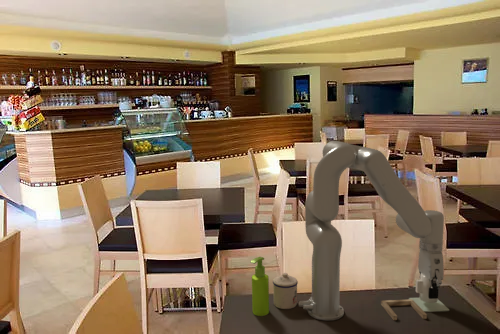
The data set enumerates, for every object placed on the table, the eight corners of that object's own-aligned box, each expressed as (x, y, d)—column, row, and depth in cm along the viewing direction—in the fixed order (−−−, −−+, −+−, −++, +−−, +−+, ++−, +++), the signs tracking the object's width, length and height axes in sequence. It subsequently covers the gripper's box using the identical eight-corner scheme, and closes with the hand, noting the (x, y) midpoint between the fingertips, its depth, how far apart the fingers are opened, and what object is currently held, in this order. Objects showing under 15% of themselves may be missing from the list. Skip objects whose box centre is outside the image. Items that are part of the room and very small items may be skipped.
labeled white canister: (443, 302, 146) (444, 278, 145) (419, 303, 145) (421, 279, 144) (434, 294, 152) (435, 271, 151) (412, 295, 151) (413, 272, 150)
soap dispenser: (247, 313, 146) (245, 259, 143) (260, 306, 151) (259, 253, 148) (259, 318, 142) (258, 263, 139) (272, 311, 147) (271, 257, 144)
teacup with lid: (298, 309, 147) (298, 278, 146) (273, 309, 148) (272, 278, 146) (296, 294, 159) (296, 265, 158) (272, 294, 160) (272, 265, 158)
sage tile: (421, 312, 144) (421, 311, 144) (408, 299, 154) (409, 297, 154) (449, 310, 144) (449, 309, 144) (435, 297, 154) (435, 296, 154)
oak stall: (393, 320, 139) (393, 316, 139) (381, 304, 150) (381, 300, 150) (426, 318, 139) (426, 314, 139) (412, 303, 150) (412, 299, 150)
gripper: (454, 253, 137) (451, 305, 140) (429, 237, 155) (427, 283, 157) (432, 254, 137) (429, 305, 140) (409, 238, 154) (408, 284, 157)
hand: (428, 293), depth 148 cm, fingers closed on labeled white canister, 5 cm apart
